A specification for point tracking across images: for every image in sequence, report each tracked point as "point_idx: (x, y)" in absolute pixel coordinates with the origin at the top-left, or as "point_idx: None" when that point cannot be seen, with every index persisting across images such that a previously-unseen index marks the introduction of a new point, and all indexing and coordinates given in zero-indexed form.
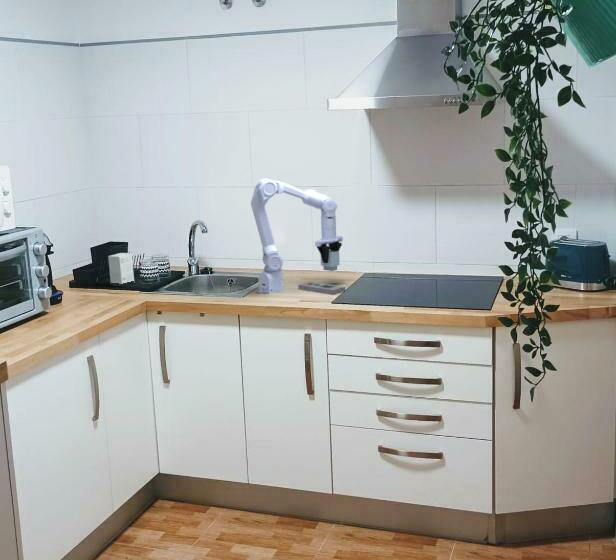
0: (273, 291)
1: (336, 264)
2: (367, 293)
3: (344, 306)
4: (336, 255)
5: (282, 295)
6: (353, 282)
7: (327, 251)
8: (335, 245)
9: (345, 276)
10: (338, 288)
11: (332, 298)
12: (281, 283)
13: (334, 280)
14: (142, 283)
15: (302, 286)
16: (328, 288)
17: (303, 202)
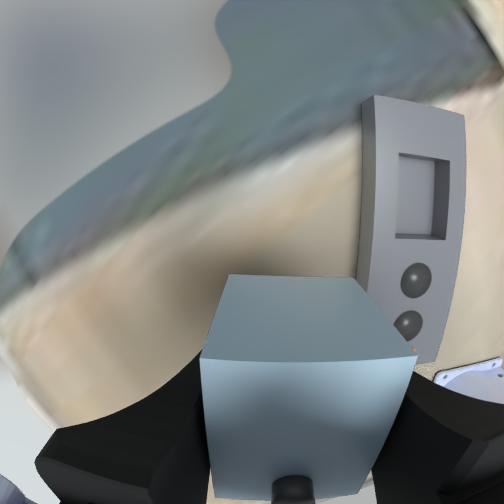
0: (490, 373)
1: (282, 280)
2: (295, 8)
3: (497, 21)
4: (284, 330)
5: (492, 334)
6: (114, 241)
7: (457, 403)
8: (180, 499)
9: (63, 352)
10: (427, 107)
11: (466, 108)
12: (477, 390)
13: (142, 354)
14: None
15: (440, 333)
16: (453, 161)
17: None
